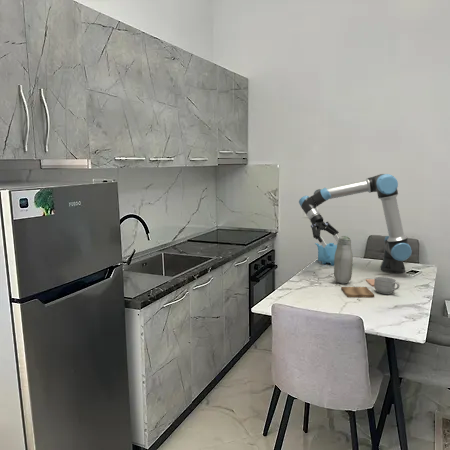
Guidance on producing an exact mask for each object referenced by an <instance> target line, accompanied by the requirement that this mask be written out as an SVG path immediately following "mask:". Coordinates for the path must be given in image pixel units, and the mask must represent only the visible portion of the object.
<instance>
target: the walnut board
mask: <svg viewBox="0 0 450 450" xmlns="http://www.w3.org/2000/svg"><path fill="white" fill-rule="evenodd" d="M340 289H341V292H343V294H344V295H345V296H346V298H365V299H366V298H373V299H374V298H375V293H373V291H371V290H370V288H368V287H367V286H365V287H364V286H341V287H340Z"/></svg>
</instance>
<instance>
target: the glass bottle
mask: <svg viewBox="0 0 450 450" xmlns="http://www.w3.org/2000/svg"><path fill="white" fill-rule="evenodd" d="M336 245H337V249H336V252H335V257H334V266H333V277H334V279H335V281H336V282H337V283H338V284H342V285H343V284H348V283H349V282H350V281H351V279H352V278H353V277H352V276H353V261H354V260H353V259H354V258H353V251H352V240H351V238H350V237H349V236H348V235H347V236H346V235H342V236H340V237H339V239H338V243H337V242H336Z"/></svg>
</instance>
